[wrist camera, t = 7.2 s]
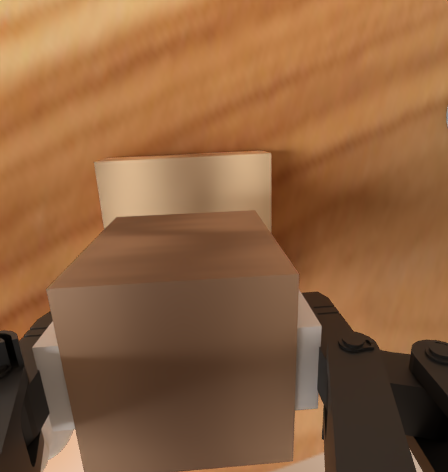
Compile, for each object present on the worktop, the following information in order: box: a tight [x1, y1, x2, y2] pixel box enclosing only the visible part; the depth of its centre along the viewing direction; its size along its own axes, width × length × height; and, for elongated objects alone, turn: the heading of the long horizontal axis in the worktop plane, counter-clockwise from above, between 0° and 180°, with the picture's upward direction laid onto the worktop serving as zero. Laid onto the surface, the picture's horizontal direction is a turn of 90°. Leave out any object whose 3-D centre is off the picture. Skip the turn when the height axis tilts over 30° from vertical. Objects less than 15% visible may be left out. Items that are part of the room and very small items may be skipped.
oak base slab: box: [94, 150, 271, 232], centre depth 22 cm, size 10×10×3 cm
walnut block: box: [46, 210, 299, 472], centre depth 12 cm, size 6×6×7 cm
